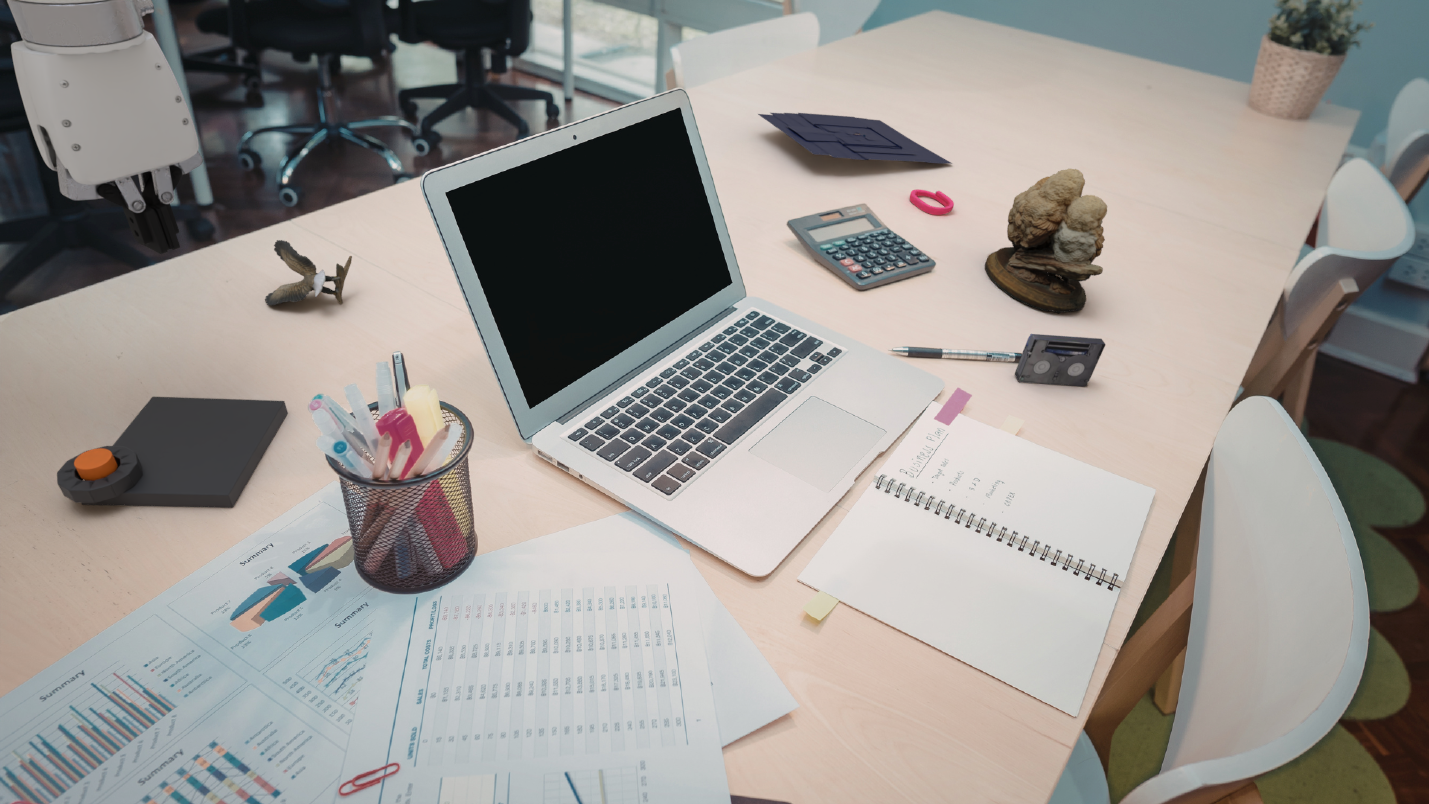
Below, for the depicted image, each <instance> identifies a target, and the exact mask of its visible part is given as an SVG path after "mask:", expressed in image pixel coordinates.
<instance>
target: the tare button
mask: <svg viewBox="0 0 1429 804" xmlns="http://www.w3.org/2000/svg"><path fill="white" fill-rule="evenodd" d="M97 448H98V449H96V448H91V449H88V450H89V451H88V450H86V451H83V452H84V453H83V452H81V453H82V454H81V453H80V454H81V455H79V454H78V455H79V456H78V457H77V458H76V459H75V461H74V466H75V467H76V469H77V471H78V473H79V475H80V477H81V478H82V479H83V480H86V481H94V480H98V479H101V478H105V477H106V476H108V475H110V474H112V473H113V472H115V471H116V469H117V463H116V461H115V459H114V457H113V454H112V452H111V451H109V450H108V449H103V448H100V447H97Z"/></svg>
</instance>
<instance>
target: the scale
mask: <svg viewBox="0 0 1429 804" xmlns="http://www.w3.org/2000/svg"><path fill="white" fill-rule="evenodd" d="M288 414H289V412H288V408H287V405H286V402H285V400H273V399H272V400H271V399H270V400H267V399H236V398H212V397H211V398H209V397H207V398H206V397H203V398H202V397H177V396H176V397H175V396H173V397H172V396H152V397H150V399H149V400H148V402H147V403H146V404H145V405H144V406H143V407H142V409H141V410H140V411H139V413H137V415H136V416H135V417H134V419H133V420H132V421H131V422H130V424H129V425H128V426H127V427H126V429H124V431H123V432H122V433H121V435H120V436H119V437H118V438H117V439H116V441H115V442H114V443H113V445H104V446H100V447H96V448H95V449H98V448H103V449H108V450H109V451H111V452H112V454H113V457H114V459H115V461H116V463H117V469H116V471H115V472H113V473H112V474H110V475H108V476H106V477H105V478H101V479H98V480H94V481H86V480H83V479H82V478H81V477H80V475H79V473H78V471H77V469H76V467H75V466H74V461H75V459H76V458H77V457H78V456H79V455H81V454H82V453H84V452H85V451H83V452H80V453H79V454H77V455H76V456H74V457H72V458H70V459H68V460H67V461H65V463H64V464H63V465H62V466H61V467H60V468H59V470H58V471H57V472H56V483H57V486H58V488H59V489H60V491H61V493H62V496H64V497H65V498H67V499H69V500H71V501H72V502H74V503H77V504H78V503H79V504H81V506H113V507H114V506H115V507H116V506H117V507H119V506H120V507H121V506H122V507H162V508H165V507H166V508H168V507H169V508H170V507H172V508H210V509H211V508H215V509H221V508H222V509H234V507H235V506H236V504H237V503H238V501H239V499H240V497H241V495H242V494H243V492H244V491H245V489H246V487H247V485H248V483H249V481H250V480H251V478H252V477H253V475H254V473H255V472H256V469H257V468H258V466H259V464H260V463H261V461H262V459H263V458H264V456H265V454H266V452H267V450H268V449H269V447H270V445H271V444H272V442H273V440H274V438H275V437H276V435H277V433H278V431H279V430H280V428H281V426H282V424H284V423H283V422H285V419H286V417H287V416H288ZM89 450H90V449H88V450H87V451H89Z"/></svg>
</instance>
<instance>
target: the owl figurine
mask: <svg viewBox="0 0 1429 804" xmlns="http://www.w3.org/2000/svg"><path fill="white" fill-rule="evenodd" d="M1085 184H1086V179H1085V178H1084V173H1083V172H1081V170H1079V169H1077V168H1067V169H1061V170H1058V171H1057V172H1056V173H1053V174H1052V175H1050V176H1045V177H1043V178H1041V179H1039V180H1037V181H1036V183H1034V185H1031V186H1030V187H1029V188H1027V189H1026V190H1024V191H1023V192H1020V193H1019V194H1016V195H1015V197H1014V199H1013V203H1012V207H1011V208H1010V209H1009V212H1008V215H1007V222H1008V224H1007V230H1006V233H1007V239H1008V241H1009V242H1011V244H1012V246H1006V247H1001V248H999V249H998V250H996V251H993V252H991V253H990V254H988V256H987V257H986V260H985V262H984V268H985V271H986V274H987V275H988V277H989V279H990V280H991V281H992V282H993V284H995V285H996V286H997V287H998V288H999V289H1001V290H1002V291H1003V292H1005V293H1006V294H1007V295H1008V296H1010V297H1011V298H1013V299H1015V300H1017V301H1019V302H1021V303H1022V304H1024V305H1027V306H1029V307H1032V308H1035V309H1037V310H1040V311H1043V312H1053V313H1055V314H1056V313H1057V314H1060V313H1068V312H1069V313H1070V312H1079V311H1081V310H1083V308H1084V307H1085V305H1086V302H1087V294H1086V290H1085V288H1084V287H1083V286H1082V283H1081V282H1086V281H1087V280H1089V279H1090V278H1091V276H1099V275H1101V274H1103V271H1104V268H1103V267H1102V266H1100V265H1097V264H1093V262H1094V261H1095V259H1096V258H1098V257H1099V256H1100V255H1102V250H1103V248H1104V242H1105V241H1106V239H1105V236H1104V235H1103V234H1104V232H1105V231H1104V227H1103V226H1102V224H1103V220H1104V219H1105V218H1106V216H1107V214H1108V205H1107V204H1106V202H1105V201H1104V200H1103V199H1102V198H1101V197H1099V196H1096V195H1094V194H1084V195H1082V194H1083V191H1084V187H1085ZM1056 276H1059V277H1060V278H1061V279H1060V278H1057V277H1056Z"/></svg>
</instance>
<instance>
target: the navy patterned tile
mask: <svg viewBox="0 0 1429 804" xmlns="http://www.w3.org/2000/svg"><path fill="white" fill-rule="evenodd" d="M757 115H758V116H759V117H761V118H763V120H765V121H767V122H768V123H769V124H772V126H774V127H775V128H777V129H778V130H779V131H781V132H782V133H783V134H785V135H786V136H788V137H789V138H791V139H792V140H793V141H794V142H796V143H797V144H799V145H800V146H802V147H803V148H804V149H806V150H807V151H808V152H810V153H811V154H812V155H817V156H818V155H819V156H830V157H832V158H836V159H838V158H839V159H850V160H860V161H861V160H862V161H870V160H875V161H876V160H877V161H896V162H897V161H898V162H899V161H900V162H919V163H920V162H921V163H931V164H947V165H948V164H950V165H951V164H954V163H953V162H951V161H949V160H947V159H946V158H945V157H942V156H940V155H939V154H937V153H935V152H933V151H932V150H929V149H928V148H926V147H924V146H923V145H922V144H921V145H920V144H919V143H917V142H916V141H914V140H912V139H911V138H909V137H907V136H906V135H904V134H903V133H901V132H900V131H898V130H896V129H895V128H893V127H891V126H890V125H888V124H887V123H885V122H884V121H882V120H880V119H871V118H863V117H855V116H848V115H833V114H819V113H807V112H797V113H794V112H783V113H782V112H770V114H764V113H757Z"/></svg>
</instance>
